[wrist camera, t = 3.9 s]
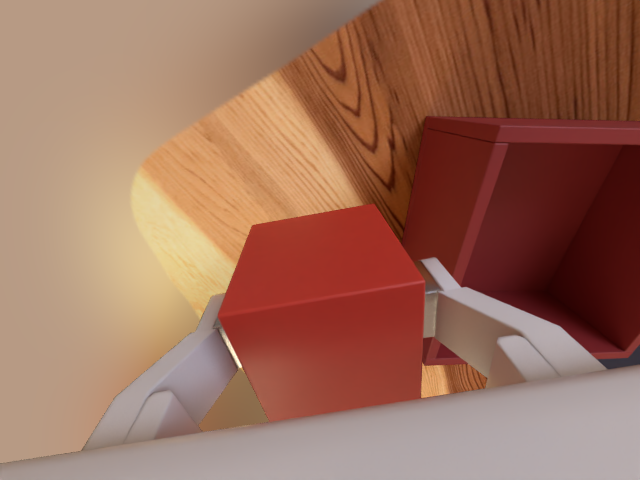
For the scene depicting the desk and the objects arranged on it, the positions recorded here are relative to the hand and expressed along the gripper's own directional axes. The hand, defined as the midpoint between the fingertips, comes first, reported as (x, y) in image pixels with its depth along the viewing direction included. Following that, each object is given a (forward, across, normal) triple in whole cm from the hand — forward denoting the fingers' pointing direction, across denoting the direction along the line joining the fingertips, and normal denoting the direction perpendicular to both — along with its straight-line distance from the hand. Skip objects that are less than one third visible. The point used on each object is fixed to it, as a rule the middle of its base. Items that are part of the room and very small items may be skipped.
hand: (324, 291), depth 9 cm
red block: (+2, 0, 0) cm, 2 cm away
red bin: (+9, -12, +4) cm, 16 cm away
